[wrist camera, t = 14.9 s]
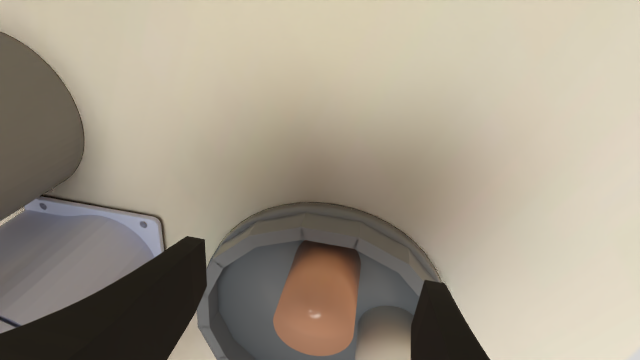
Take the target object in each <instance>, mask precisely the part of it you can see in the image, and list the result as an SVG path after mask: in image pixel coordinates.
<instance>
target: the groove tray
mask: <svg viewBox="0 0 640 360" xmlns="http://www.w3.org/2000/svg"><path fill="white" fill-rule="evenodd" d="M305 240H307V241H313V242H319V243H324V244H330V245H335V246H341V247H347V248H352V249H355V250H356V251H357V252H358V254H359V257H360V260H361V270H360V279H359V289H358V298H357V307H356V316H355V326H354V335H353V339H352V341H351V343H350V344H349V346H348V347H347V348H346V349H344V350H343V351H341V352H339V353H336V354H333V355H328V356H314V355H308V354H304V353H301V352H299V351H297V350H295V349H293V348H291V347H290V346H288V345H287V344H286V343H284V342H283V341H282V340H281V339H280V337H279V336H278V335H277V333H276V331H275V328H274V324H273V318H274V314H275V311H276V308H277V306H278V303H279V300H280V297H281V294H282V291H283V288H284V285H285V282H286V279H287V277H288V274H289V271H290V268H291V265H292V262H293V259H294V256H295V253H296V251H297V248H298V247H299V245H300V244H301V243H302V242H303V241H305ZM206 274H207V287H206V290H205V292H204V294H203V297H202V299H201V301H200V303H199V306H198V308H197V319H198V328H199V329H200V331H201V333H202V335H203V336H204V338H205V340H206V342H207V343H208V345H209V347H210V349H211V350H212V352H213V354H214V356H215V357H216V359H217V360H355V351H356V341H357V330H358V322H359V319H360V318H361V316H362V315H363V314H364V313H365V312H366V311H368V310H370V309H372V308H375V307H379V306H395V307H399V308H402V309H404V310H406V311H408V312H410V313H411V314H412V315H414V314H415V311H416V307H417V304H418V300H419V297H420V294H421V290H422V287H423V283H424V280H429V281H435V282H440V283H441V280H440V277H439V275H438V273H437V271H436V269H435V267H434V265H433V264H432V263H431V261H430V260H429V258H428V257H427V255H426V254H425V253H424V252H423V251H422V250H421V249H420V248H419V246H418V245H417V244H416V243H415V242H414V241H412V240H411V239H410V238H409V237H408V236H406V235H405V234H404V233H403V232H401V231H400V230H398V229H397V228H395V227H394V226H392V225H390V224H389V223H387V222H385V221H383V220H381V219H379V218H377V217H375V216H373V215H371V214H368V213H365V212H362V211H359V210H356V209H353V208H349V207H344V206H340V205H335V204H326V203H295V204H287V205H281V206H277V207H273V208H270V209H267V210H264V211H262V212H259V213H257V214H254V215H253V216H251V217H249V218H247V219H246V220H244V221H242V222H241V223H240V224H238V225H237V226H236V227H235V228H233V229H232V230H231V231H230V232H229V233H228V234H227V236H226V237H225V238H224V239H223V240H222V242H221V243H220V245H219V247H218V248H217V250H216V251H215V253H214V255H213V256H212V258H211V259H210V262H209V264H208V267H207V269H206Z"/></svg>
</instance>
